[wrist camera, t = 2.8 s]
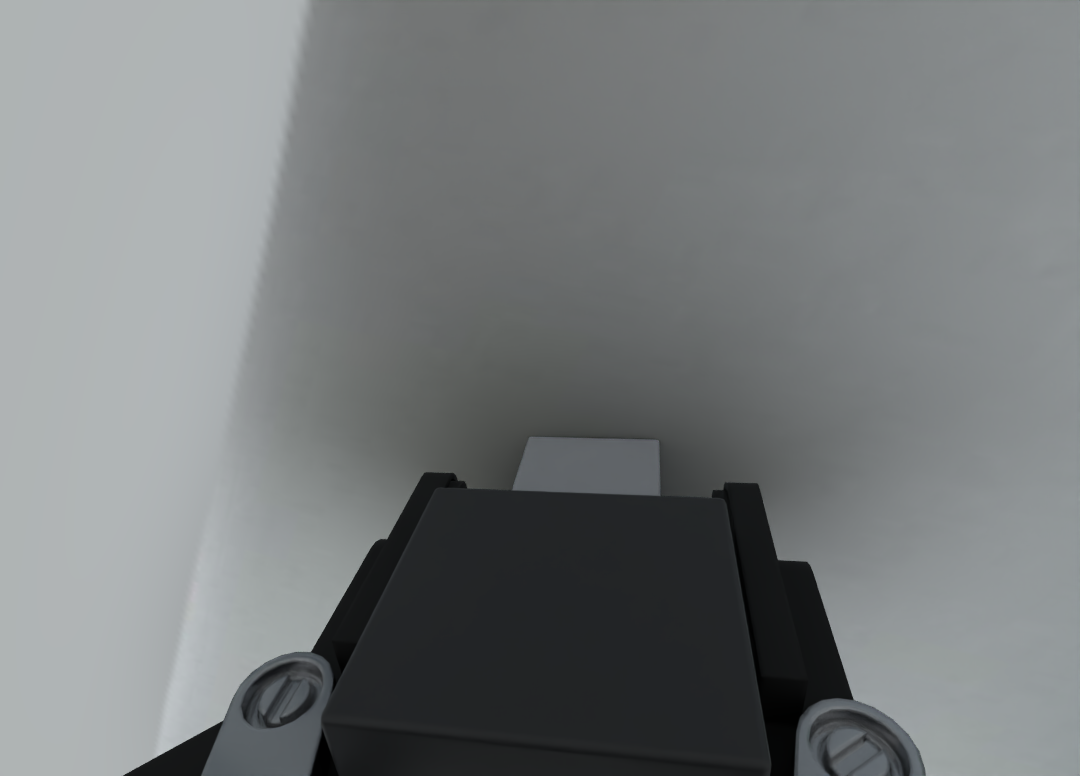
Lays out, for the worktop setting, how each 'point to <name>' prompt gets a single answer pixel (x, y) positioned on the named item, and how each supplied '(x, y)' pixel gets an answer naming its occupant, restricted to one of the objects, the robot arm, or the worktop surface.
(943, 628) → the worktop surface
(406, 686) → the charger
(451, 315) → the worktop surface
